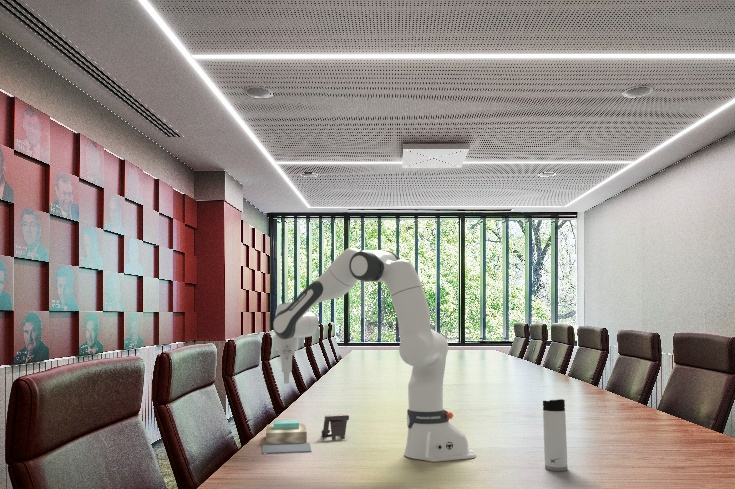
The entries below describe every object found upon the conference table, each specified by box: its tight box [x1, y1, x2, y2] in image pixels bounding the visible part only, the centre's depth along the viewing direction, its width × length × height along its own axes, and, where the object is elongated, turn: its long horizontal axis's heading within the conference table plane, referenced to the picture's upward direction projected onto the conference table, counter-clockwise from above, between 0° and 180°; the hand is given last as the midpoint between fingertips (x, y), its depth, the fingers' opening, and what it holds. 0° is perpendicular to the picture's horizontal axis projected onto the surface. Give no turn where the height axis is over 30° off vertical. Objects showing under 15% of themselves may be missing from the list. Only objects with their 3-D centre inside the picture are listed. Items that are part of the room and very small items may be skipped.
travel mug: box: [542, 398, 569, 472], centre depth 179 cm, size 6×7×20 cm
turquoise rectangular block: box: [273, 419, 300, 430], centre depth 223 cm, size 9×6×2 cm, turn 98°
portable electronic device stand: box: [321, 413, 350, 441], centre depth 225 cm, size 9×8×8 cm
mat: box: [261, 442, 312, 454], centre depth 207 cm, size 16×13×1 cm
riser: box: [265, 423, 308, 444], centre depth 221 cm, size 14×16×4 cm
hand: (286, 382), depth 232 cm, fingers open, 3 cm apart
